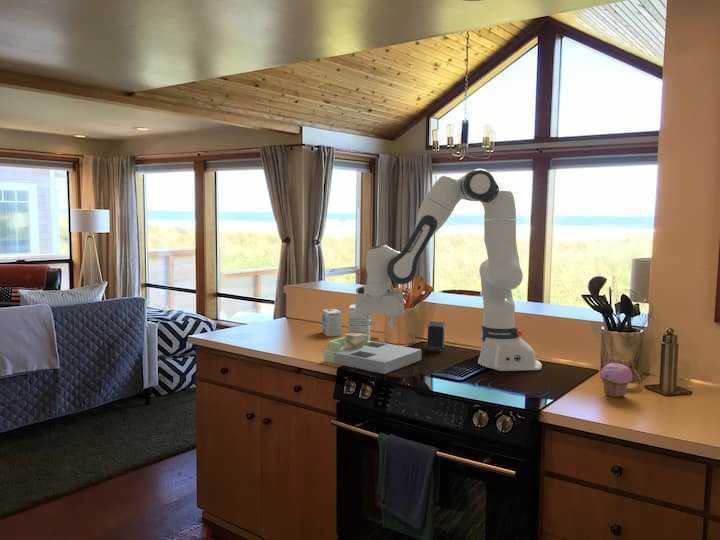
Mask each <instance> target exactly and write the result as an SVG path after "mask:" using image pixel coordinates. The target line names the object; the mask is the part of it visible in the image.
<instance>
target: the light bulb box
mask: <svg viewBox="0 0 720 540" xmlns="http://www.w3.org/2000/svg"><path fill="white" fill-rule="evenodd" d="M321 313H322V324H321V325H322V326H321V327H322V329H321V330H322V333H323V334H324V335H325V336H327V337H341V336H342V314H343V313H342V312H341V311H340V310H338V309H337V308H330V309H329V308H327V309H322V312H321Z"/></svg>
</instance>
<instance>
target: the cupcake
mask: <svg viewBox="0 0 720 540" xmlns="http://www.w3.org/2000/svg"><path fill="white" fill-rule="evenodd" d="M599 375H600V378H601V379H602V382H603V392H604V394H605V395H606V396H607V397H611V398H621V397H623V396H626V393H627V390H628V385H629V383H630V382H631V381H632V380H633V373H632V370H631V369H630V368H629V367H628V366H626V365H624V364H622V363H617V362H610V363H607V364H606V365H605V366H603V368H602V369H601V370H600V374H599Z"/></svg>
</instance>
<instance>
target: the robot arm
mask: <svg viewBox="0 0 720 540" xmlns="http://www.w3.org/2000/svg"><path fill="white" fill-rule="evenodd" d="M461 200H466V201H469V202H480V203H481V204H482V206H483V211H484V214H483V215H484V218H483V219H484V220H483V221H484V222H483V223H484V224H483V225H484V226H483V227H484V229H483V230H484V232H483V233H484V236H483V237H484V238H483V239H484V244H485V249H486V255H487V258H486V259H485V260H484V261H483V262H481V264H480V267H479V268H478V270H479V271H478V273H479V276H480V286H481V292H482V301H483V305H482V306H483V317H482V318H483V321H482V322H483V323H482V325H481V333H480V335H481V349H480V354H479V357H478V360H477V363H478V365H479V364H480V366H481V365H482V367H484V366H485V367H484V368H489V369H493V370H496V371H498V372H499V371H500V372H501V371H502V372H504V371H505V372H509V371H512V372H515V371H516V372H517V371H539V370H542V367H543V365H542V362H540V361H539V360H538V359H537V357H536V353H535V350H534V348H533V347H532V346H531V345H529V343H528V342H526V341H525V340H524V339H522V338H521V336H523V329H522V330H521V329H520V328H519V327H516V326H515V313H516V312H515V310H516V305H515V302H514V298H513V292H512V291H513V290H514V289H517V288H518V287H519V286H520V284H521V283H522V281H523V278H524V276H523V275H524V274H523V270H522V268H521V265H520V257H519V253H518V247H517V246H518V245H517V220H516V219H517V209H516V203H515V202H516V201H515V196H514V194H513V192H512V191H511V190H509V189H507V188H503V187H502V188H501V187H500V186H499V184H498V183H497V181H496V180H495V178H494V176H493V174H492V173H490V172H489V170H486V169H484V168H475V169H473V170H469V171H468V172H467V173H465V175H463V176H462V177H459V178H458V177H455V176H453V175H450V174H449V175H448V174H445V175H441V176H440V177H438V179H437V180H436V181H435V182H434V183H433V185H432V187H430V189H429V191H428V192H427V194H426V195H425V197H424V199H423V200H422V203H421V204H420V208H419V210H418V212H417V216H416V223H415V227H414V229H413V232H412V233H411V235H410V237H409V239H408V241H406V244H405V245H404V248H403V249H402V250H401V251H398V250H396V249H394V248H392V247H389V246H388V245H387V244H381V245H380V244H378V245H376V246H372V247H370V248H369V249H368V250H367V252H366V256H365V257H366V259H365V260H366V261H365V271H366V273H367V278H366V284H364V285H361V286H359V287H357V288H356V289H355V293H356V295H355V304H354V305H355V307H356V311H357V312H358V313H364V316H365V318H366V320H367V325H370V326H373V324H374V322H373V321H374V320H373V319H372V318H371V314H372V315H380V316H389V319H390V320H389V322H387V328H391V329H392V328H394V323H395V321H396V319H397V317H400V316H401V317H402V316H403V315H404V314H405V313H406V311H405V303H404V302H405V301H404V295H403V293H402V292H401V291H400V290H397V289H396V290H394V289H392V286H391V285H392V283H391V281H392V282H393V283H394V284H398V285H407V284H409V283H410V282H411V281H413V280H414V278H415V277H416V275H417V274H416V273H417V268H418V261H419V259H420V258H421V255H422V254H423V252H424V250H425V249H426V246H427V245H428V244H429V241H430V240H431V239H432V237H433V236H434V235H435V234H436V233H437V232H438V231H439V230H440V229H441V228H442V226H444V224H445V223H446V222H447V221H448V219H449V218H450V216H451V214H452V213H453V211H454V210H455V208H456V206H457V205H458V204H459V202H460V201H461ZM369 315H370V316H369Z"/></svg>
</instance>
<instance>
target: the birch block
mask: <svg viewBox="0 0 720 540" xmlns="http://www.w3.org/2000/svg"><path fill="white" fill-rule="evenodd" d="M344 337H345V348H350V349H358V348H362V347H363V334H359V333H349V332H348V333H346V334H344Z"/></svg>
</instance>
